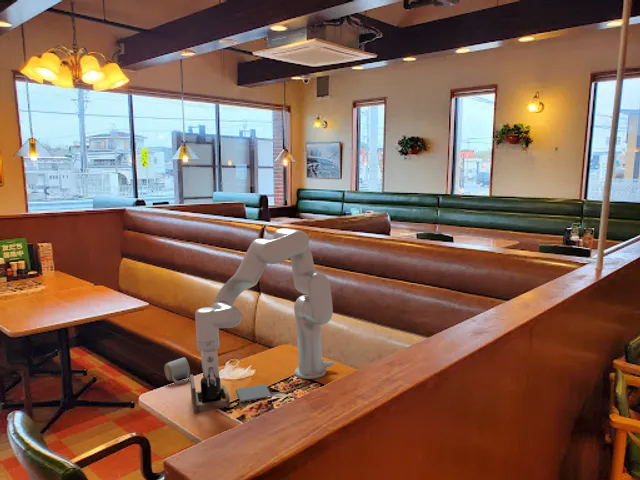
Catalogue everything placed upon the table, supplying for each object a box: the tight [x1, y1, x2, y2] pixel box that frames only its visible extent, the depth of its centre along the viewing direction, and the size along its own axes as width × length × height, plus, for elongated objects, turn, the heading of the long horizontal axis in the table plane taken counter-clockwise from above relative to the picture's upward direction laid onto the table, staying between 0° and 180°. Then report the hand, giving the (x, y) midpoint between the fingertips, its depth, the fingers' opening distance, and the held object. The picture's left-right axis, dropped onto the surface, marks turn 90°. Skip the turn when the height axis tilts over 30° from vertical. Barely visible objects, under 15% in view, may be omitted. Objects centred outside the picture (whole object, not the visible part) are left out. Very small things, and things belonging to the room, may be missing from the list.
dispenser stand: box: [189, 373, 231, 415], centre depth 165 cm, size 12×12×9 cm
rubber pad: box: [235, 383, 272, 403], centre depth 172 cm, size 11×10×1 cm
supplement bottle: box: [200, 372, 222, 404], centre depth 165 cm, size 7×7×12 cm
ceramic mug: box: [163, 356, 191, 385], centre depth 186 cm, size 11×8×8 cm
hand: (210, 391), depth 165 cm, fingers open, 8 cm apart
